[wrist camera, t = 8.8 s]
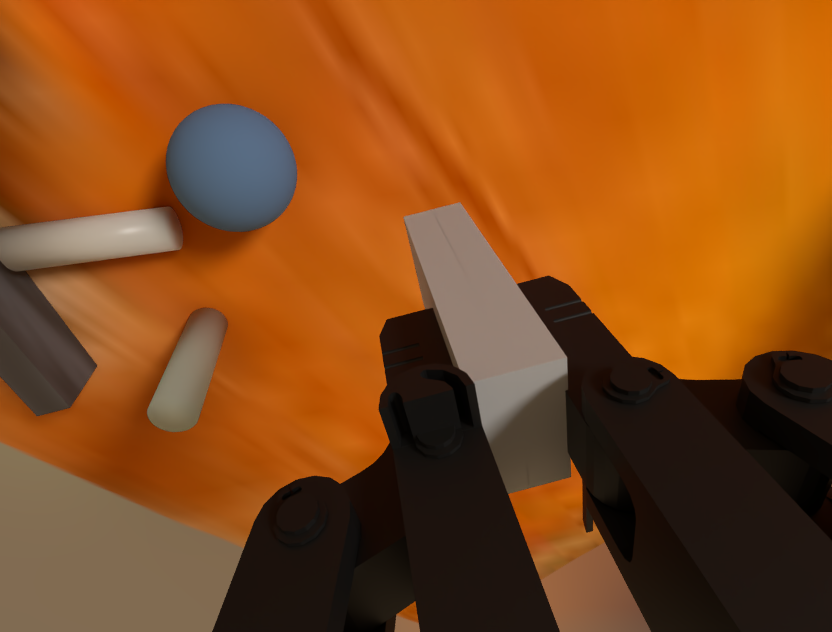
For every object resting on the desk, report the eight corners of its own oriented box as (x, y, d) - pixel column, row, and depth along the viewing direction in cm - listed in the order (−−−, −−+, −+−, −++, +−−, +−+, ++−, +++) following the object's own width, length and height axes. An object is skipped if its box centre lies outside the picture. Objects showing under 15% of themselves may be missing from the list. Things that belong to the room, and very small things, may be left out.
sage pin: (218, 303, 31) (185, 391, 23) (233, 333, 32) (207, 424, 25) (181, 313, 31) (137, 404, 23) (198, 342, 32) (161, 436, 25)
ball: (114, 124, 20) (183, 111, 25) (173, 257, 23) (224, 220, 28) (249, 96, 19) (291, 89, 24) (293, 238, 22) (322, 203, 27)
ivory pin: (179, 258, 27) (18, 280, 26) (185, 231, 28) (34, 251, 27) (160, 224, 25) (-14, 246, 24) (168, 197, 26) (5, 217, 26)
